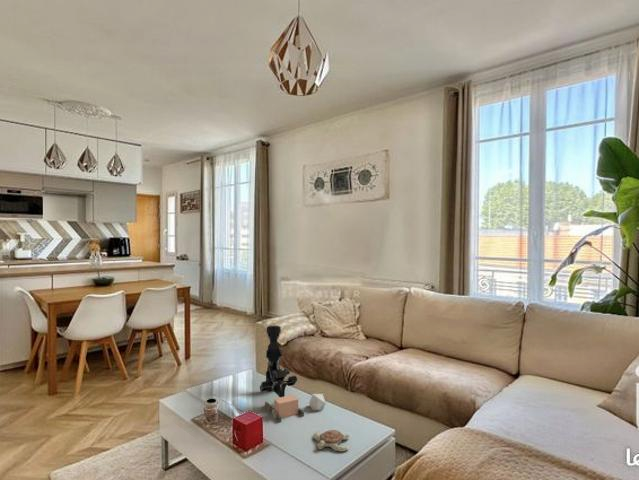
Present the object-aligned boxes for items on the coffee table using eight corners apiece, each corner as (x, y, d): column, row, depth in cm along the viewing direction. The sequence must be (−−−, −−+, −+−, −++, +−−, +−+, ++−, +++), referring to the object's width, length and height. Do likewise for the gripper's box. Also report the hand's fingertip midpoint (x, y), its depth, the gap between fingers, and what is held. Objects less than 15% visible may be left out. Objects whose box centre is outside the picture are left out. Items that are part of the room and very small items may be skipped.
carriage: (274, 413, 180) (274, 398, 180) (293, 408, 185) (293, 394, 185) (279, 418, 175) (279, 403, 175) (298, 413, 180) (298, 399, 179)
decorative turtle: (302, 443, 157) (302, 431, 157) (328, 428, 169) (328, 417, 169) (334, 461, 145) (334, 448, 145) (360, 443, 157) (360, 432, 157)
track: (264, 408, 187) (264, 401, 187) (287, 403, 194) (287, 396, 194) (279, 425, 171) (279, 418, 171) (304, 419, 177) (304, 411, 177)
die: (319, 417, 180) (330, 399, 183) (304, 407, 181) (315, 389, 184) (319, 415, 188) (329, 398, 190) (305, 406, 189) (315, 388, 192)
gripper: (261, 365, 182) (269, 396, 173) (296, 359, 191) (305, 389, 182) (256, 376, 189) (263, 406, 180) (289, 370, 198) (298, 398, 189)
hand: (283, 399), depth 182 cm, fingers closed, pressing on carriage
